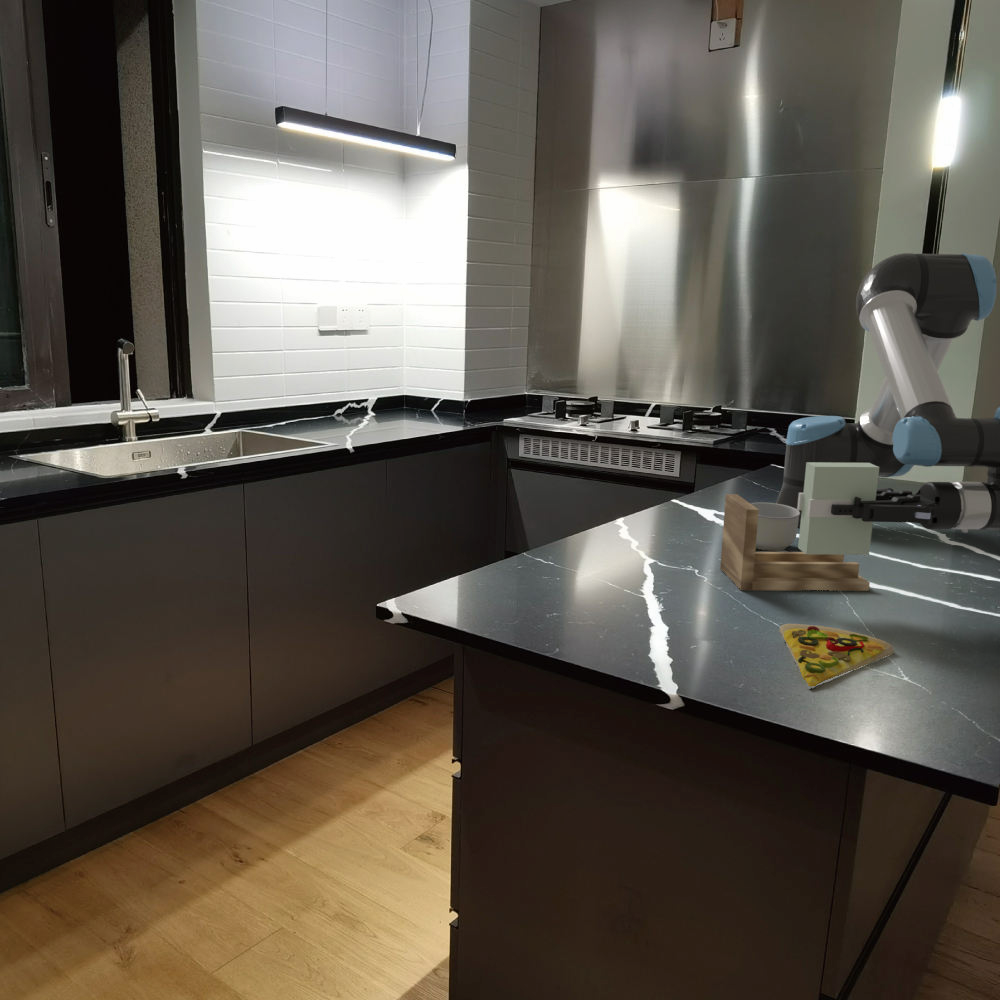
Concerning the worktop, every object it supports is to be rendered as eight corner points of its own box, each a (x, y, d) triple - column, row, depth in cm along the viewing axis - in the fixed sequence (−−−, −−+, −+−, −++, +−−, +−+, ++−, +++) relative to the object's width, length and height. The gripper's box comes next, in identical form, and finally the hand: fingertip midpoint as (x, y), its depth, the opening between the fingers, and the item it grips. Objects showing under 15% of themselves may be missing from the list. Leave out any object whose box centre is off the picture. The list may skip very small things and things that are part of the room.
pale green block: (859, 548, 139) (869, 462, 136) (869, 554, 136) (879, 467, 132) (797, 547, 139) (806, 462, 135) (806, 554, 135) (815, 466, 132)
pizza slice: (894, 653, 122) (897, 633, 121) (874, 710, 104) (877, 687, 103) (782, 631, 129) (783, 612, 128) (745, 681, 112) (747, 659, 111)
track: (839, 569, 158) (847, 495, 155) (868, 590, 146) (877, 510, 143) (720, 569, 157) (725, 494, 154) (740, 590, 146) (746, 509, 143)
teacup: (799, 544, 175) (803, 505, 173) (793, 557, 166) (796, 517, 164) (729, 535, 181) (732, 498, 179) (719, 548, 171) (722, 509, 170)
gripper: (977, 543, 129) (822, 542, 128) (920, 515, 145) (782, 514, 144) (984, 494, 127) (827, 493, 126) (926, 471, 143) (787, 470, 142)
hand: (804, 504), depth 135 cm, fingers closed on pale green block, 3 cm apart
